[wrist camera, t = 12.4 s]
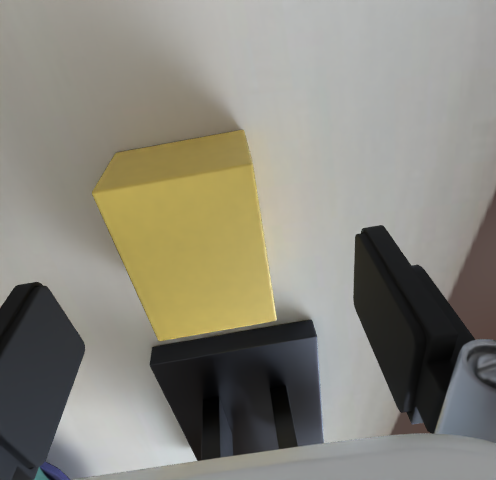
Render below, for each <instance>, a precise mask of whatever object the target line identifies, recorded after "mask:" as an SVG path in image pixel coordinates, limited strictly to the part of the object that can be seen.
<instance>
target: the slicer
mask: <svg viewBox="0 0 496 480" xmlns="http://www.w3.org/2000/svg"><path fill="white" fill-rule="evenodd" d="M150 367H151V369H152V371H153V373H154V375H155V377H156V379H157V381H158V383H159V385H160V387H161V389H162V391H163V393H164V395H165V397H166V399H167V401H168V403H169V405H170V407H171V409H172V411H173V413H174V415H175V417H176V419H177V421H178V423H179V425H180V427H181V429H182V431H183V433H184V435H185V437H186V439H187V441H188V443H189V445H190V447H191V449H192V451H193V453H194V455H195V457H196V459H197V461H202V460H209V459H215V458H222V457H229V456H236V455H243V454H251V453H258V452H265V451H272V450H279V449H286V448H293V447H300V446H307V445H314V444H322V443H324V439H323V423H322V408H321V392H320V377H319V361H318V346H317V335H316V332H315V328H314V325H313V322H312V320H307V321H301V322H295V323H290V324H284V325H278V326H272V327H267V328H261V329H255V330H249V331H244V332H238V333H232V334H226V335H220V336H215V337H209V338H203V339H197V340H192V341H186V342H180V343H174V344H169V345H163V346H157V347H153V348H152V353H151V359H150Z"/></svg>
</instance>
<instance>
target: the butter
mask: <svg viewBox="0 0 496 480" xmlns="http://www.w3.org/2000/svg"><path fill="white" fill-rule="evenodd" d="M92 195H93V197H94V200H95V202H96V204H97V206H98V208H99V211H100V213H101V215H102V217H103V219H104V222H105V224H106V226H107V228H108V230H109V233H110V235H111V237H112V239H113V242H114V244H115V246H116V248H117V250H118V253H119V255H120V257H121V259H122V261H123V264H124V266H125V268H126V270H127V272H128V275H129V277H130V279H131V281H132V284H133V286H134V288H135V290H136V292H137V295H138V297H139V299H140V301H141V303H142V306H143V308H144V310H145V312H146V315H147V317H148V319H149V321H150V323H151V326H152V328H153V330H154V332H155V334H156V337H157V339H158V341H164V340H170V339H175V338H181V337H187V336H192V335H198V334H204V333H210V332H215V331H221V330H227V329H232V328H238V327H244V326H250V325H255V324H261V323H267V322H272V321H276V320H277V317H276V310H275V304H274V297H273V291H272V284H271V278H270V272H269V265H268V259H267V252H266V246H265V239H264V233H263V226H262V220H261V214H260V207H259V201H258V194H257V188H256V181H255V175H254V169H253V163H252V159H251V155H250V151H249V148H248V144H247V140H246V136H245V132H244V130H238V131H233V132H227V133H222V134H216V135H211V136H205V137H200V138H194V139H189V140H183V141H178V142H172V143H167V144H161V145H156V146H150V147H145V148H139V149H134V150H128V151H123V152H118V153H115V154H114V156H113V158H112V159H111V161H110V163H109V164H108V166H107V168H106V169H105V171H104V173H103V174H102V176H101V178H100V179H99V181H98V183H97V184H96V186H95V188H94V189H93V191H92Z"/></svg>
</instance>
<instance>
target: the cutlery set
mask: <svg viewBox="0 0 496 480" xmlns="http://www.w3.org/2000/svg"><path fill="white" fill-rule="evenodd" d="M34 480H70V479H69V478H68V477H67V476H66V475H65V474H64V473H63V472H62V471H61V470H60V469H58V468H57V467H55V466H53V465H51V464H49V463H47V462H44V463H43V465H41V466H39V469H38V471H37V474H36V477H35V479H34Z"/></svg>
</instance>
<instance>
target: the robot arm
mask: <svg viewBox="0 0 496 480" xmlns="http://www.w3.org/2000/svg"><path fill="white" fill-rule="evenodd" d="M353 298H354V306H355V309H356V312H357V314H358V316H359V319H360V321H361V323H362V326H363V328H364V330H365V333H366V335H367V338H368V340H369V342H370V345H371V347H372V349H373V352H374V354H375V356H376V359H377V361H378V363H379V366H380V368H381V370H382V373H383V375H384V377H385V380H386V382H387V384H388V387H389V389H390V391H391V394H392V396H393V398H394V401H395V403H396V405H397V407H398V409H399V411H400V412H401V413H402V412H407V414H408V417H409V419H410V421H411V423H412V424H417V423H423V422H424V424H425V427H426V429H427V431H429V432H430V433H432V434H417V433H416V434H402V435H389V436H378V437H370V438H362V439H354V440H346V441H338V442H330V443H322V444H314V445H307V446H300V447H293V448H286V449H279V450H272V451H265V452H258V453H251V454H243V455H236V456H229V457H222V458H215V459H209V460H202V461H195V462H188V463H181V464H174V465H167V466H161V467H154V468H147V469H140V470H133V471H127V472H120V473H113V474H106V475H100V476H93V477H87V478H80V479H73V480H496V341H495V340H491V339H478V340H475V339H474V337H473V336H472V334H471V333H470V332H469V330H468V329H467V328H466V326H465V325H464V323H463V322H462V321H461V319H460V318H459V317H458V315H457V314H456V312H455V311H454V310H453V308H452V307H451V306H450V304H449V303H448V301H447V300H446V299H445V297H444V296H443V295H442V293H441V292H440V291H439V289H438V288H437V286H436V285H435V284H434V282H433V281H432V280H431V278H430V277H429V275H428V274H427V273H426V271H425V270H424V269H423V268H422V267H421V266H419V265H413V266H411V265H410V263H409V262H408V260H407V259H406V257H405V256H404V255H403V253H402V252H401V250H400V249H399V247H398V246H397V244H396V243H395V242H394V240H393V239H392V237H391V236H390V234H389V233H388V231H387V230H386V229H385V227H384V226H382V225H380V226H374V227H368V228H363V229H362V231H361V234H357V235H356V236H355V264H354V297H353ZM84 352H85V345H84V342H83V340H82V338H81V337H80V335H79V334H78V332H77V331H76V329H75V328H74V326H73V325H72V323H71V322H70V320H69V319H68V317H67V316H66V314H65V313H64V311H63V309H62V308H61V306H60V305H59V303H58V302H57V300H56V299H55V297H54V296H53V294H52V293H51V291H50V290H49V288H48V287H47V286H43V285H42V284H41V283H39V282H33V283H27V284H21V285H17V286H15V288H14V289H13V290H12V292H11V293H10V295H9V296H8V297H7V299H6V300H5V302H4V303H3V305H2V306H1V308H0V480H34V479H35V477H36V474H37V471H38V469H39V466H41V465H43V463H44V462H45V460H46V458H47V455H48V452H49V450H50V447H51V444H52V441H53V439H54V436H55V433H56V430H57V427H58V425H59V422H60V419H61V416H62V414H63V411H64V408H65V405H66V403H67V400H68V397H69V394H70V391H71V389H72V386H73V383H74V380H75V378H76V375H77V372H78V369H79V366H80V364H81V361H82V358H83V355H84Z"/></svg>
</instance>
